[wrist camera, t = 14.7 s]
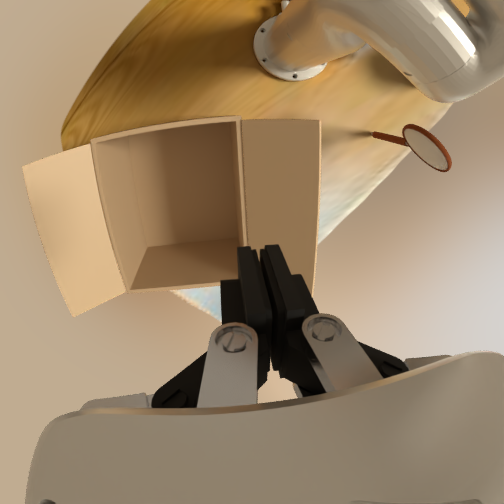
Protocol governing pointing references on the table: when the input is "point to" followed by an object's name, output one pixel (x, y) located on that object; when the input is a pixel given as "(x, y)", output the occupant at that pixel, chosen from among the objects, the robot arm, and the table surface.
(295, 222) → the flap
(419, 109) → the table surface
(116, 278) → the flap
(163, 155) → the carton
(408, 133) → the magnifying glass
